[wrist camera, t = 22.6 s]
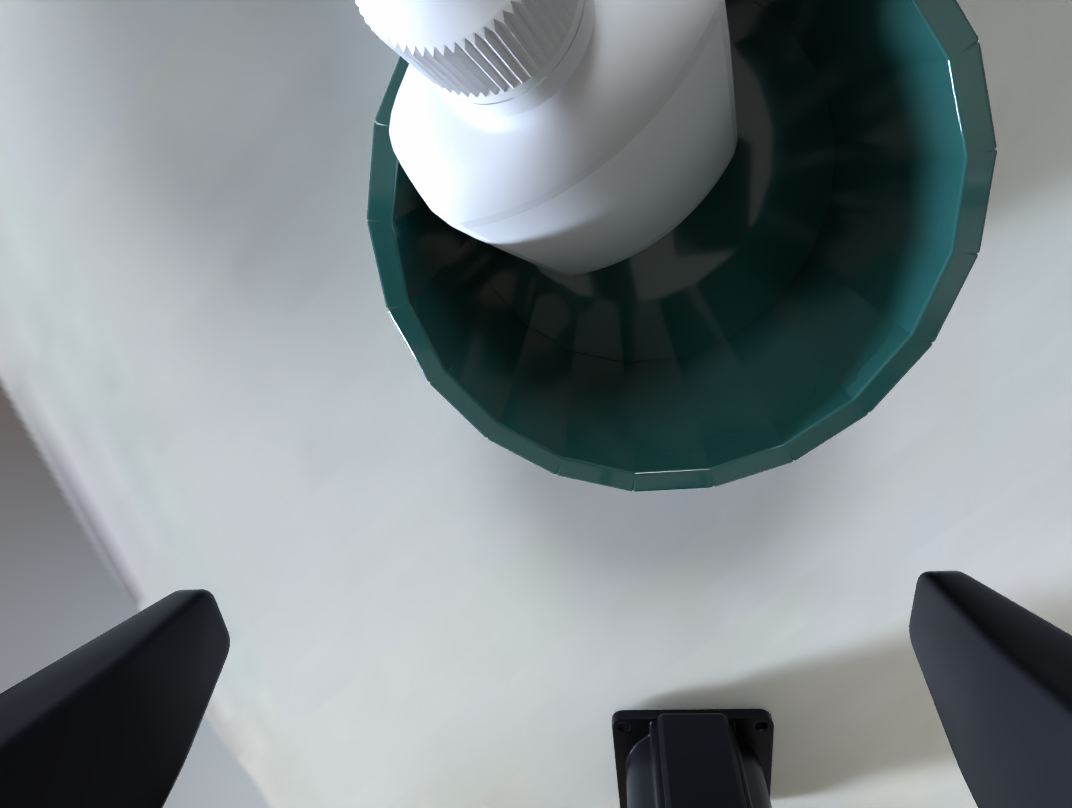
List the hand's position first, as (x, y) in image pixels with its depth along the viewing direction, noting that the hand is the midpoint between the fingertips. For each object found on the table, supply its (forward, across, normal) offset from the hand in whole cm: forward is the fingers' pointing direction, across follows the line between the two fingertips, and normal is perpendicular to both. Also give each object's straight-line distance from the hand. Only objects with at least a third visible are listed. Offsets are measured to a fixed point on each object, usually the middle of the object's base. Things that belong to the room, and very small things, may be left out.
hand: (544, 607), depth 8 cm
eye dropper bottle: (+12, -2, -4) cm, 12 cm away
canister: (+13, -2, -4) cm, 13 cm away
